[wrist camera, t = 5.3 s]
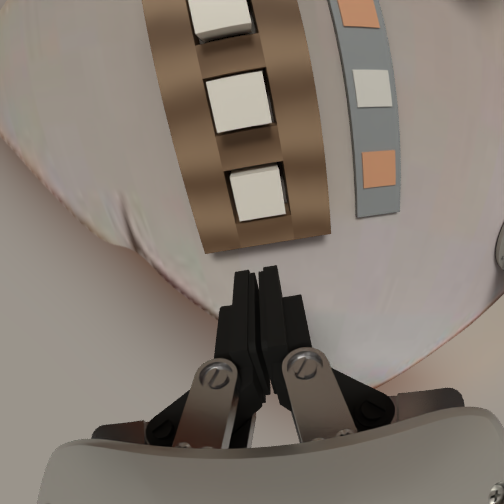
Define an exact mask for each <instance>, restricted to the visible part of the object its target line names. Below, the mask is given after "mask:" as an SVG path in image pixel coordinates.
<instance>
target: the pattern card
mask: <svg viewBox="0 0 504 504" xmlns="http://www.w3.org/2000/svg"><path fill="white" fill-rule="evenodd" d="M327 1H328V4H329V8H330V12H331V16H332V20H333V25H334V29H335V34H336V38H337V43H338V48H339V53H340V59H341V64H342V70H343V76H344V82H345V89H346V96H347V103H348V111H349V119H350V129H351V139H352V150H353V163H354V180H355V204H356V216H357V218H359V217H365V216H372V215H379V214H386V213H393V212H400V181H401V163H400V133H399V117H398V105H397V96H396V87H395V79H394V72H393V65H392V59H391V53H390V48H389V42H388V37H387V33H386V28H385V24H384V19H383V15H382V11H381V7H380V4H379V0H327Z"/></svg>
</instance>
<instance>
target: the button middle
mask: <svg viewBox="0 0 504 504" xmlns="http://www.w3.org/2000/svg"><path fill="white" fill-rule="evenodd" d="M206 85H207V89H208V94H209V98H210V103H211V107H212V112H213V116H214V121H215V125H216V130H217V133H220V132H224V131H229V130H234V129H240V128H245V127H250V126H256V125H262V124H268V123H272V121H271V116H270V110H269V105H268V99H267V94H266V89H265V84H264V79H263V74H262V71H259V72H253V73H247V74H242V75H236V76H231V77H226V78H221V79H217V80H213V81H208V82H206Z"/></svg>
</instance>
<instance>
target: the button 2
mask: <svg viewBox="0 0 504 504" xmlns="http://www.w3.org/2000/svg"><path fill="white" fill-rule="evenodd" d="M230 181H231V185H232V190H233V194H234V198H235V203H236V207H237V212H238V216H239V220H240V221H245V220H251V219H257V218H263V217H269V216H275V215H281V214H286V212H285V206H284V199H283V192H282V186H281V180H280V173H279V168H278V166H277V163H276V162H272V163H266V164H260V165H254V166H249V167H243V168H238V169H232V171H231V175H230Z"/></svg>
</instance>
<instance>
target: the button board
mask: <svg viewBox="0 0 504 504" xmlns="http://www.w3.org/2000/svg"><path fill="white" fill-rule="evenodd" d="M249 3H250V7H251V11H252V15H253V19H254V24H255V28H256V33H255V34H249V35H243V36H237V37H232V38H227V39H222V40H217V41H213V42H208V43H204V44H200V42H199V38H198V36H197V35H196V34H195V30H194V25H193V21H192V16H191V11H190V7H189V2H188V0H142V4H143V10H144V15H145V21H146V26H147V31H148V36H149V41H150V46H151V51H152V56H153V60H154V65H155V69H156V74H157V78H158V83H159V87H160V91H161V96H162V100H163V104H164V108H165V112H166V116H167V120H168V124H169V128H170V132H171V136H172V140H173V144H174V148H175V151H176V155H177V159H178V163H179V166H180V170H181V174H182V177H183V181H184V184H185V188H186V191H187V195H188V198H189V202H190V205H191V209H192V212H193V215H194V219H195V222H196V225H197V229H198V232H199V235H200V239H201V242H202V245H203V248H204V251H205V254H208V253H214V252H220V251H226V250H233V249H239V248H245V247H251V246H257V245H263V244H270V243H276V242H282V241H288V240H295V239H301V238H307V237H313V236H320V235H326V234H331V225H330V209H329V196H328V184H327V173H326V163H325V154H324V145H323V137H322V129H321V122H320V115H319V108H318V101H317V95H316V89H315V83H314V77H313V72H312V66H311V61H310V56H309V51H308V46H307V41H306V37H305V32H304V28H303V23H302V19H301V15H300V11H299V7H298V3H297V0H249ZM260 70H265V75H266V80H267V85H268V90H269V96H270V101H271V106H272V112H273V117H274V122H272V123H268V124H262V125H256V126H250V127H245V128H240V129H234V130H229V131H224V132H220V133H217V130H216V125H215V121H214V116H213V112H212V107H211V103H210V98H209V94H208V89H207V85H206V82H208V81H209V80H213V79H218V78H222V77H227V76H232V75H237V74H242V73H248V72H254V71H260ZM278 161H281V164H282V170H283V177H284V183H285V190H286V197H287V203H284V206H285V212H286V214H281V215H275V216H269V217H263V218H257V219H251V220H245V221H240V220H239V216H238V212H237V209H236V204H235V200H234V195H233V191H232V186H231V182H230V178H229V173H228V170H232V169H238V168H243V167H249V166H254V165H260V164H266V163H272V162H278Z"/></svg>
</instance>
